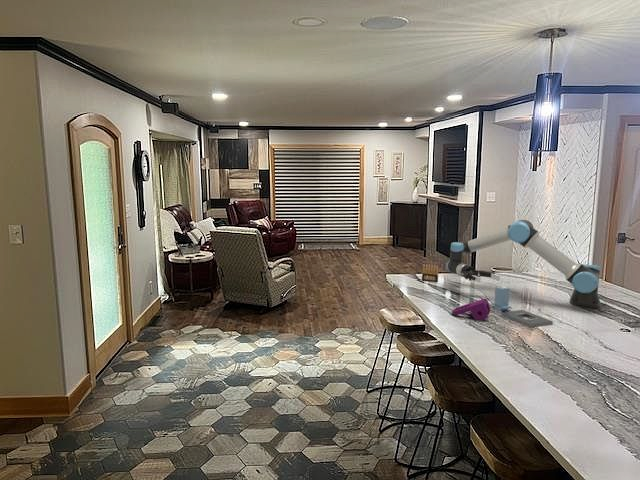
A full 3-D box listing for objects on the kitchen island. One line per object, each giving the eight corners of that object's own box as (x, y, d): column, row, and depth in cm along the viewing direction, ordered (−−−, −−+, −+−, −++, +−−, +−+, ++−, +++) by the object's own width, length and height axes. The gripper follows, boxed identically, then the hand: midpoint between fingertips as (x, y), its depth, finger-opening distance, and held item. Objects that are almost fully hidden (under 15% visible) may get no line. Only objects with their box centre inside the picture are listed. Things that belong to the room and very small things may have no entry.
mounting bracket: (456, 328, 245) (490, 318, 236) (449, 313, 246) (483, 302, 237) (460, 322, 253) (492, 313, 245) (453, 308, 254) (486, 298, 245)
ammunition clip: (438, 281, 320) (438, 264, 318) (437, 282, 318) (438, 264, 316) (422, 280, 324) (422, 263, 322) (421, 280, 322) (422, 263, 320)
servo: (491, 307, 263) (492, 284, 261) (498, 306, 264) (499, 283, 263) (503, 312, 253) (505, 288, 252) (511, 311, 255) (513, 288, 253)
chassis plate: (501, 315, 248) (501, 312, 247) (522, 312, 253) (522, 309, 252) (530, 327, 229) (530, 323, 229) (552, 324, 234) (552, 320, 234)
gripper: (481, 275, 291) (506, 284, 271) (447, 278, 282) (471, 287, 262) (482, 263, 289) (507, 271, 270) (448, 266, 281) (472, 274, 261)
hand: (489, 279), depth 266 cm, fingers open, 13 cm apart
